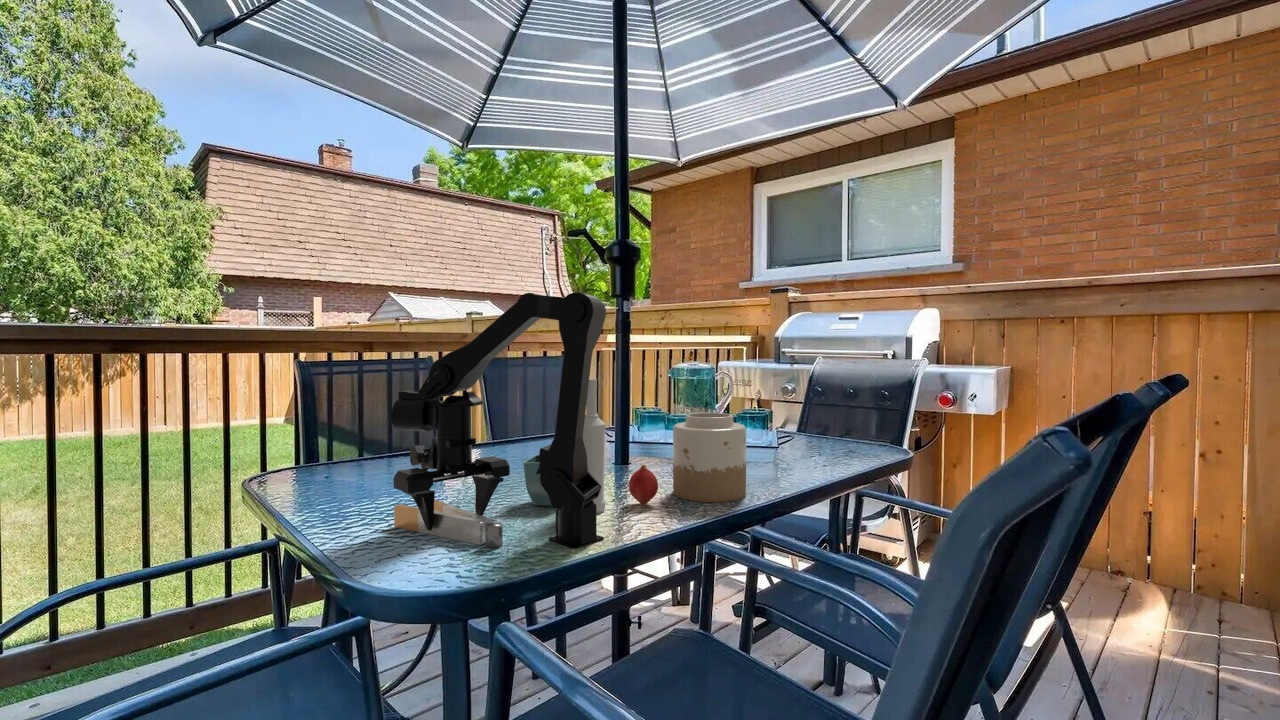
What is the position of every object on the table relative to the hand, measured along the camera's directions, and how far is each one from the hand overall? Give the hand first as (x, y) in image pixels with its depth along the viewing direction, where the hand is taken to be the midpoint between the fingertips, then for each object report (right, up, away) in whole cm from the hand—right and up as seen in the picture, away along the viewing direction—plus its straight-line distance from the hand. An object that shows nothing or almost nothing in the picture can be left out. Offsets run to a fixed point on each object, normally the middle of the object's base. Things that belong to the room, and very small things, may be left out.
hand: (454, 524), depth 105 cm
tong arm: (-2, -1, -2) cm, 3 cm away
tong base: (+1, -1, -1) cm, 2 cm away
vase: (+46, -1, +26) cm, 53 cm away
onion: (+32, -1, +17) cm, 36 cm away
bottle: (+22, -1, +13) cm, 26 cm away
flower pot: (+14, -1, +18) cm, 23 cm away
